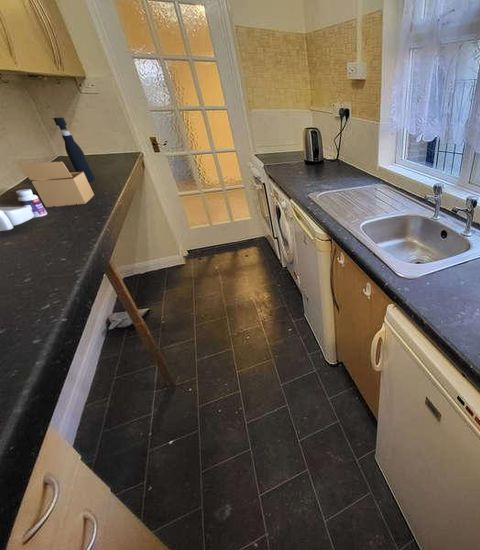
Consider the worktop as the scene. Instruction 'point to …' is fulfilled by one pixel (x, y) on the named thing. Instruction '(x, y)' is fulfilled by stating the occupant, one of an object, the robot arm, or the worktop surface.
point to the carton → (64, 190)
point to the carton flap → (45, 170)
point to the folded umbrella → (74, 151)
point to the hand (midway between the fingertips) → (14, 207)
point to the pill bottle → (31, 202)
